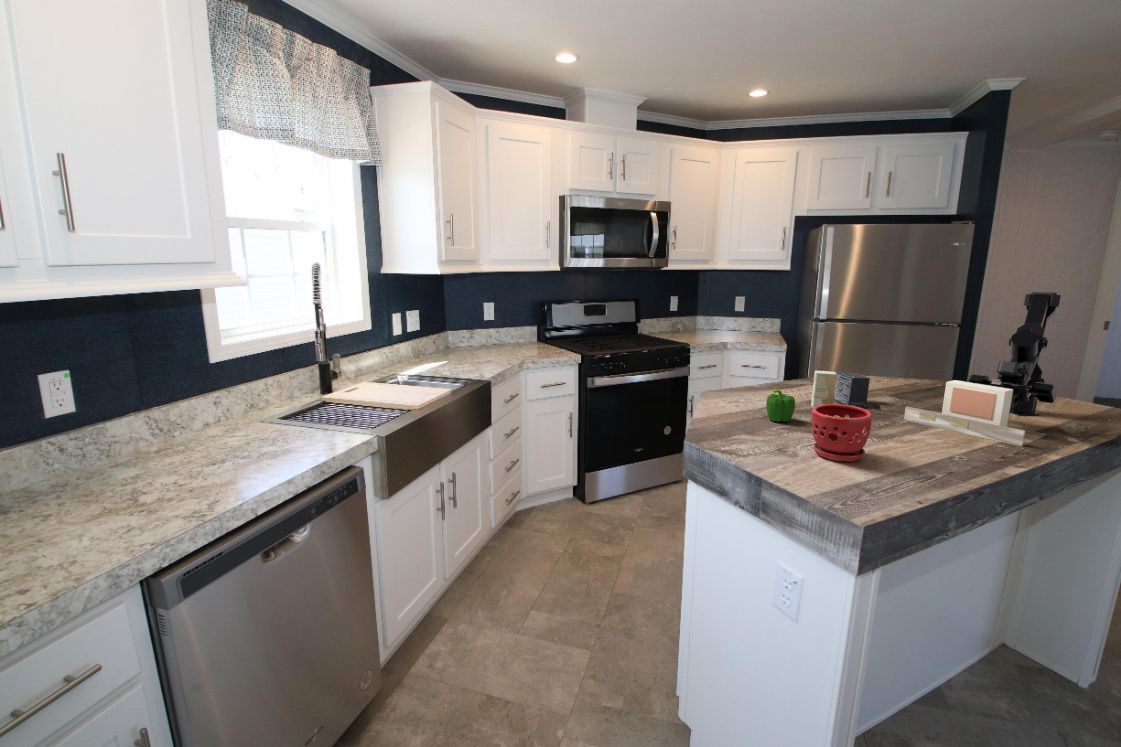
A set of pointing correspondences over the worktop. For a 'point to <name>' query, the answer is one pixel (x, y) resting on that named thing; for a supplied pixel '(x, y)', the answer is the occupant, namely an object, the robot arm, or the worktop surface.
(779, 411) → the bell pepper
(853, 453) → the plant pot
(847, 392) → the small box
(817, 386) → the skincare box
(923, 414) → the shelf board
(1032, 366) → the robot arm
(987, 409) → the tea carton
